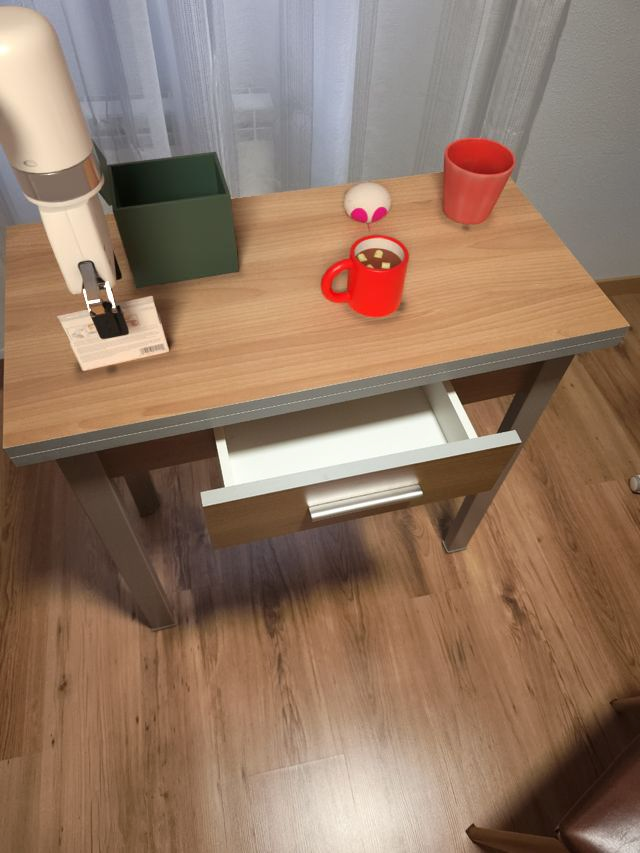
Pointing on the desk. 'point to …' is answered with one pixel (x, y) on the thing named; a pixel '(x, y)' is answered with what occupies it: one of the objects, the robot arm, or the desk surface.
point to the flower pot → (474, 178)
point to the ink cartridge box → (103, 352)
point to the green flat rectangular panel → (106, 186)
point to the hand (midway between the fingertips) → (112, 306)
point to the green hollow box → (174, 218)
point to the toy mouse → (367, 202)
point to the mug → (370, 276)
